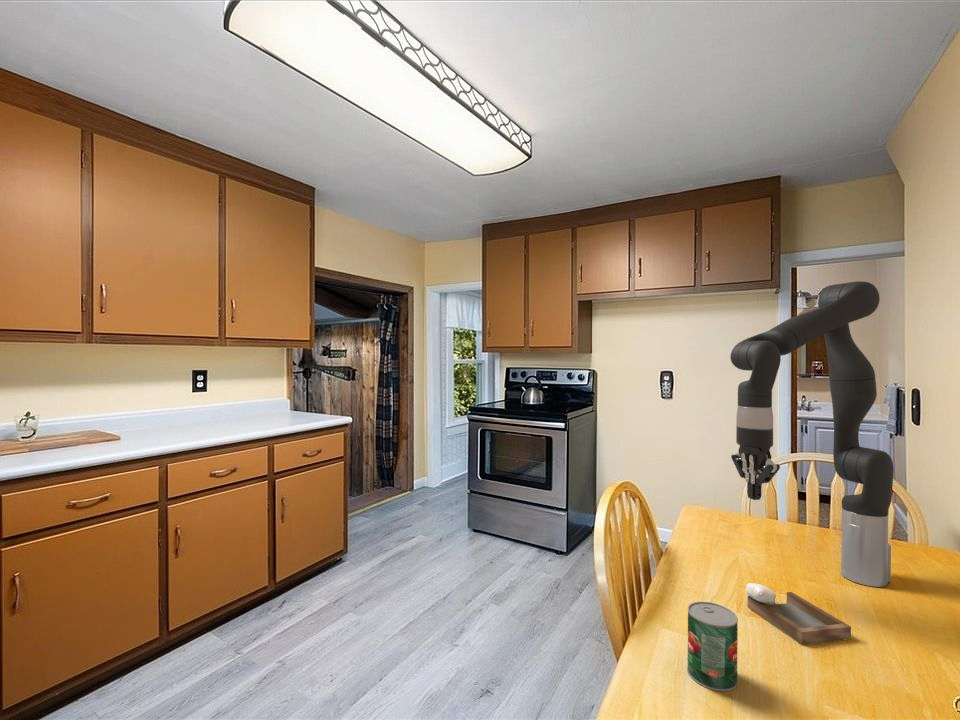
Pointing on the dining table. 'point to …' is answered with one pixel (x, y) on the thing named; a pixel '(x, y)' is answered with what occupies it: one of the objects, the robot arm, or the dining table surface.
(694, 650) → the canned tomato
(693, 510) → the dining table surface
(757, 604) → the u rest
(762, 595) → the eye dropper bottle
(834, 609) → the dining table surface
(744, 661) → the dining table surface
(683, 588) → the dining table surface
